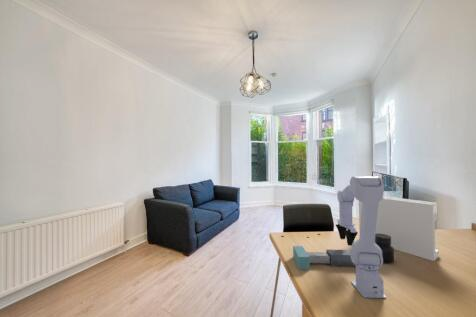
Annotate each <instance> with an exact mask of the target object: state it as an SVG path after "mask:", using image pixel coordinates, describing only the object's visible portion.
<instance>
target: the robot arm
mask: <svg viewBox="0 0 476 317" xmlns="http://www.w3.org/2000/svg"><path fill="white" fill-rule="evenodd" d="M384 191H385V184H384V182H383V180H382V178H381V177H380V176H351V178H350V180H349V184H347V186H346V187H345V188H344V189H342V190H338V191H337V194H336V195H337V201H338V203H339V204H338V206H339V207H338V208H339V209H338V210H339V212H338V214H339V216H338V217H339V219H337V224H335V227H336V230H337V231H338V235H339V238H340V240H346V243H347V246H350V247H351V248H350V249H349V250H350V257H351V260H352V262H353V263H354V264H355V267H354V268H355V280H351V284H352V285H353V286H354V287H355V289H356V290H357V291H358V292H359V293H360V294H361V296H362V297H363V298H369V299H374V298H375V299H387V296H386V295H385V294H384V279H383V278H382V276H381V275H380V274H379V271H378V270H380V267H382V266H383V264H384V263H383V257H382V250H381V248H380V247H379V246H378V245H377V244H375V233H376V224H377V214H378V205H379V201H381V200H382V199H383V196H384V193H385V192H384ZM355 199H356V201H358V202H359V201H361V202H362V213H361V225H360V232H359V231H357V230H356V227H355V226H356V224H355V223H353V207H354V201H355ZM358 232H359V238H358V239H357V240H355V239H356V237H357V235H358Z"/></svg>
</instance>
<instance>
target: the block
mask: <svg viewBox="0 0 476 317" xmlns="http://www.w3.org/2000/svg"><path fill="white" fill-rule="evenodd" d="M358 212H359V213H358V218H359V219H358V220H359V225H358V227H359V228H358V230H359V231H358V232H359V233H360V225H361V213H362V202H361V201H359V200H358ZM438 216H439V214H438V202H435V201H434V202H433V201H432V202H431V201H425V200H419V199H408V198H401V197H391V196H384V195H383V199H382V200H381V201H379V205H378V214H377V224H376V233H375V234H385V235H388V236H390V237H391V246H392V247H393V248H394V250H396V251H399V252H403V253H407V254H410V255H413V256H416V257H419V258H423V259H425V260H428V261H433V262H435V261H436V260H437V259H438V258H439V252H440V251H439V249H436V224H435V223H436V221H438V219H439V218H438Z"/></svg>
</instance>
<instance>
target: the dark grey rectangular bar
mask: <svg viewBox="0 0 476 317" xmlns="http://www.w3.org/2000/svg"><path fill="white" fill-rule="evenodd" d="M326 252H328V253H329V254H330V263H328V265H329V266H330V267H334V268H336V267H337V268H355V264H354V263H353V262H352V260H351V257H350V249H326Z"/></svg>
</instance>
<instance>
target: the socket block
mask: <svg viewBox="0 0 476 317" xmlns="http://www.w3.org/2000/svg"><path fill="white" fill-rule="evenodd" d="M306 252H307V251H306V250H305V247H304V246H303V245H293V246H292V254H293V255H292V256H293V257H292V258H293V259H294V262H295V264H296V266H297V268H298V269H299V271H300V270H302V271H303V270H310V264H311V263H310V262H309V256H308V254H307V253H306ZM310 271H311V270H310Z"/></svg>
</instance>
